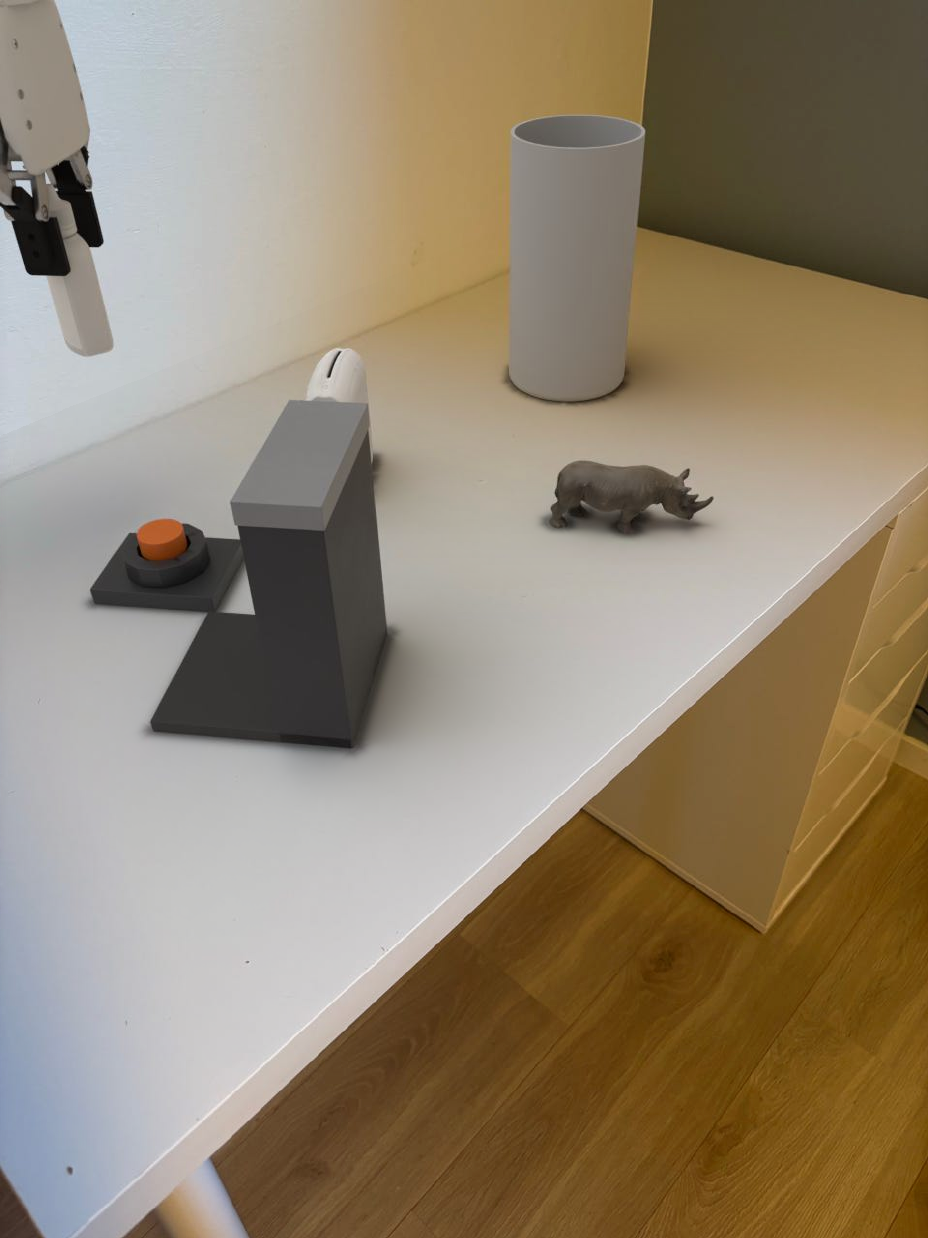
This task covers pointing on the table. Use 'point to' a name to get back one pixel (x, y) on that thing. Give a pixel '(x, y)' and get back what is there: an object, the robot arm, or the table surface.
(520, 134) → the cylinder vase
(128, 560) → the control pad
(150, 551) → the button
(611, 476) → the rhino figurine
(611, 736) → the table surface
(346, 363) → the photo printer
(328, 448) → the coffee maker
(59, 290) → the eye dropper bottle
